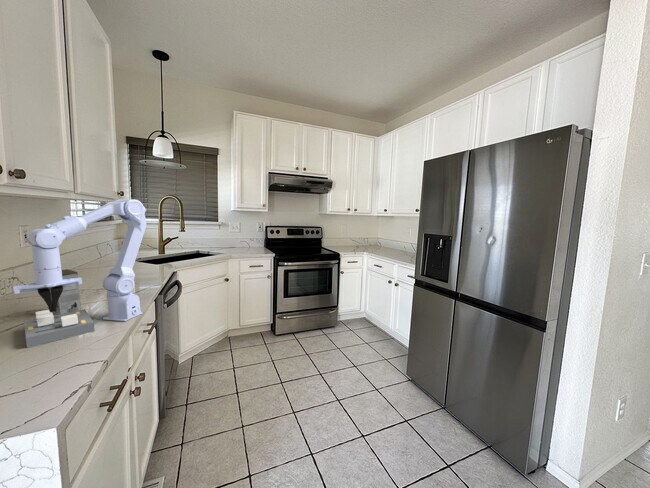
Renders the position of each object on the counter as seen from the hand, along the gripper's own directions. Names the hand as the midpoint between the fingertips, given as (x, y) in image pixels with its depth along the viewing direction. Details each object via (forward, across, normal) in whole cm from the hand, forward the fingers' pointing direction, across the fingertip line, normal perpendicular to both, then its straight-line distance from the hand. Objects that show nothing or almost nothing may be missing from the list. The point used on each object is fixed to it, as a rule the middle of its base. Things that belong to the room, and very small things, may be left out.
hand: (52, 311), depth 83 cm
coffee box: (+9, +5, +25) cm, 27 cm away
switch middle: (+5, -2, +5) cm, 7 cm away
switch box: (+8, +1, +5) cm, 10 cm away
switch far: (+5, -2, +10) cm, 12 cm away
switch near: (+5, +3, -1) cm, 6 cm away
